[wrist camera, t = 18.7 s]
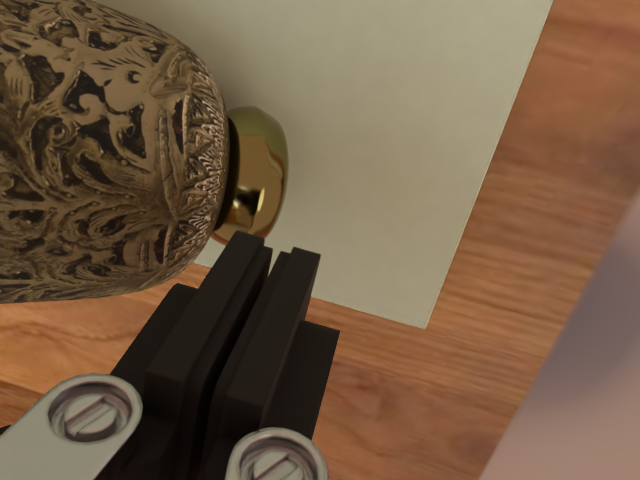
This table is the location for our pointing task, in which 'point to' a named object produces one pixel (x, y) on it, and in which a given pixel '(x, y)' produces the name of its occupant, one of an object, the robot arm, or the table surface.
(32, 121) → the brown jagged-rimmed vessel
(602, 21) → the table surface
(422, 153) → the mat
